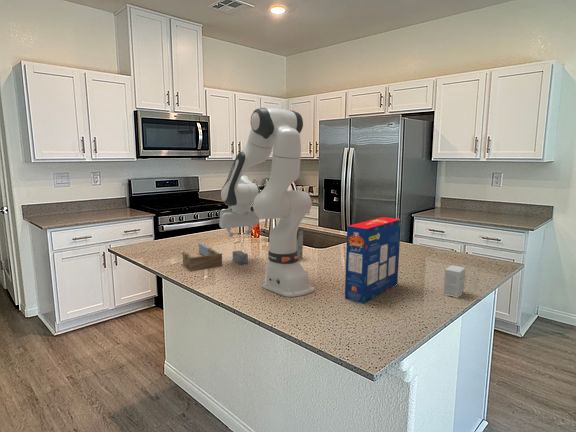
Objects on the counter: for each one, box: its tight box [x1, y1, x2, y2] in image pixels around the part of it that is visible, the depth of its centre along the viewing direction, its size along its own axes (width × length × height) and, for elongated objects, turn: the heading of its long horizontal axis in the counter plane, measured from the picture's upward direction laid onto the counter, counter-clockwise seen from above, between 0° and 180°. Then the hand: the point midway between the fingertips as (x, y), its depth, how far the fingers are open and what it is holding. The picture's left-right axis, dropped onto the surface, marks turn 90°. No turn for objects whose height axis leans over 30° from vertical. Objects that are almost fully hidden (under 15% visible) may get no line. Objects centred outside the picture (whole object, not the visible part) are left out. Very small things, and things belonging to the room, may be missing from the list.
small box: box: [442, 264, 466, 297], centre depth 149 cm, size 8×6×10 cm
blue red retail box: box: [344, 216, 402, 305], centre depth 150 cm, size 28×8×28 cm, turn 139°
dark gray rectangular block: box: [232, 250, 249, 266], centre depth 191 cm, size 9×4×5 cm, turn 33°
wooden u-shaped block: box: [182, 247, 223, 272], centre depth 185 cm, size 13×16×6 cm
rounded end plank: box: [198, 242, 211, 256], centre depth 201 cm, size 1×15×6 cm, turn 33°
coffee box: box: [296, 227, 304, 261], centre depth 197 cm, size 9×6×16 cm
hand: (239, 235), depth 189 cm, fingers open, 8 cm apart
